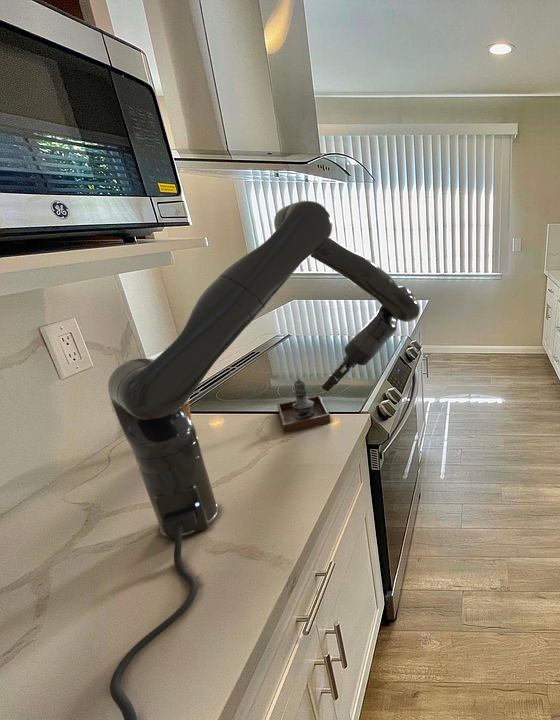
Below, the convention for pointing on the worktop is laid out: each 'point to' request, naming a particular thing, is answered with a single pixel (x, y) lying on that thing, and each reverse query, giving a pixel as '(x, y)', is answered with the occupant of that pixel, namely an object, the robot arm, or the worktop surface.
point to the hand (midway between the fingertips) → (329, 383)
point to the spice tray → (295, 424)
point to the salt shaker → (302, 401)
